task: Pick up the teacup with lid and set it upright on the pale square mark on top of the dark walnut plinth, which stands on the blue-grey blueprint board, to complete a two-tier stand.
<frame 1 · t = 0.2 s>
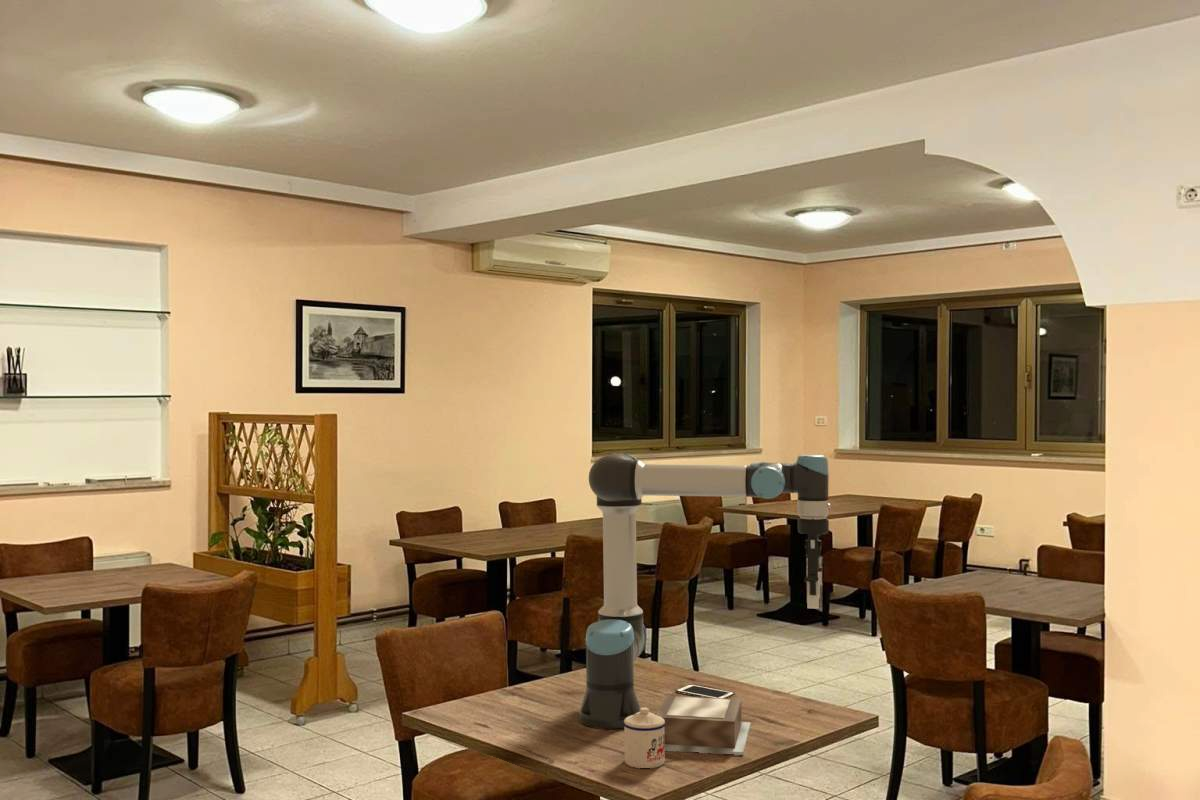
hand: (813, 603, 260), 28 cm above the table, tool pointing down, fingers open, 13 cm apart
plinth: (699, 737, 244), on the table
teacup with lid: (647, 761, 228), on the table
cell phone: (705, 695, 280), on the table
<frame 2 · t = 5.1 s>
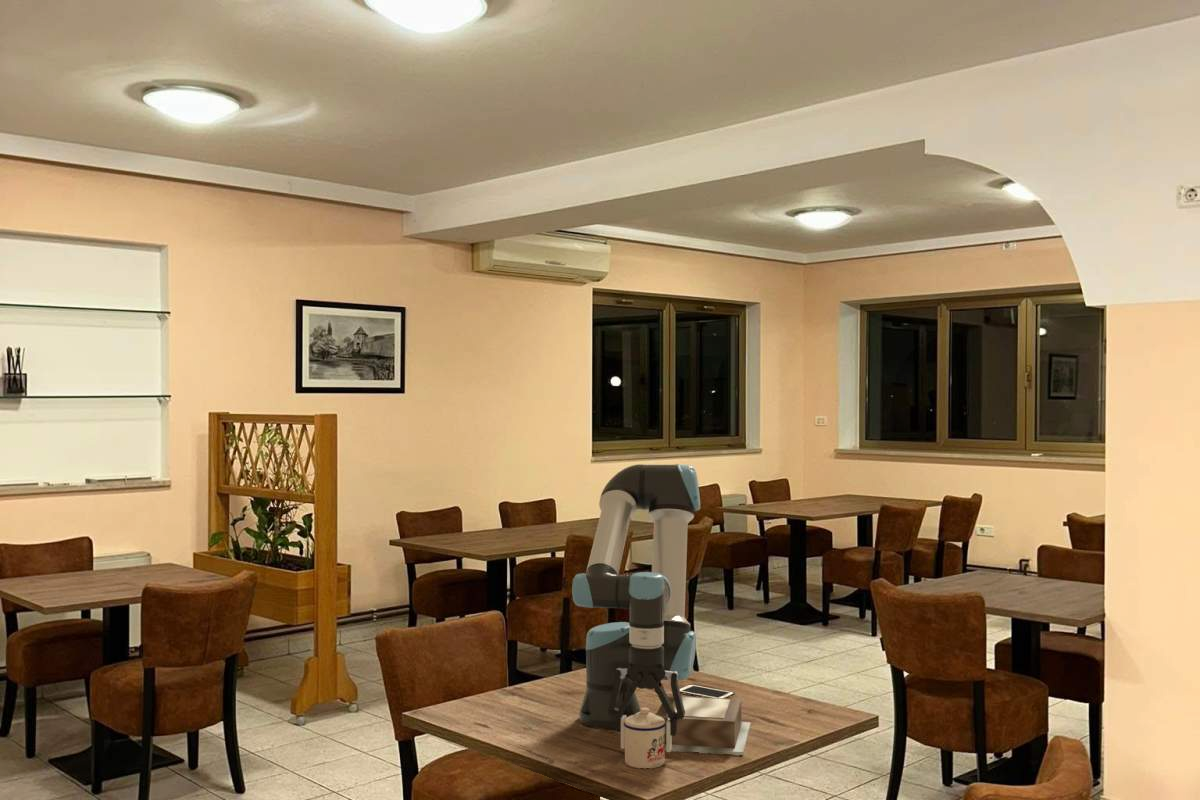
hand: (646, 748, 228), 3 cm above the table, tool pointing down, fingers open, 9 cm apart
teacup with lid: (648, 761, 228), on the table, touching gripper
everything else where it was.
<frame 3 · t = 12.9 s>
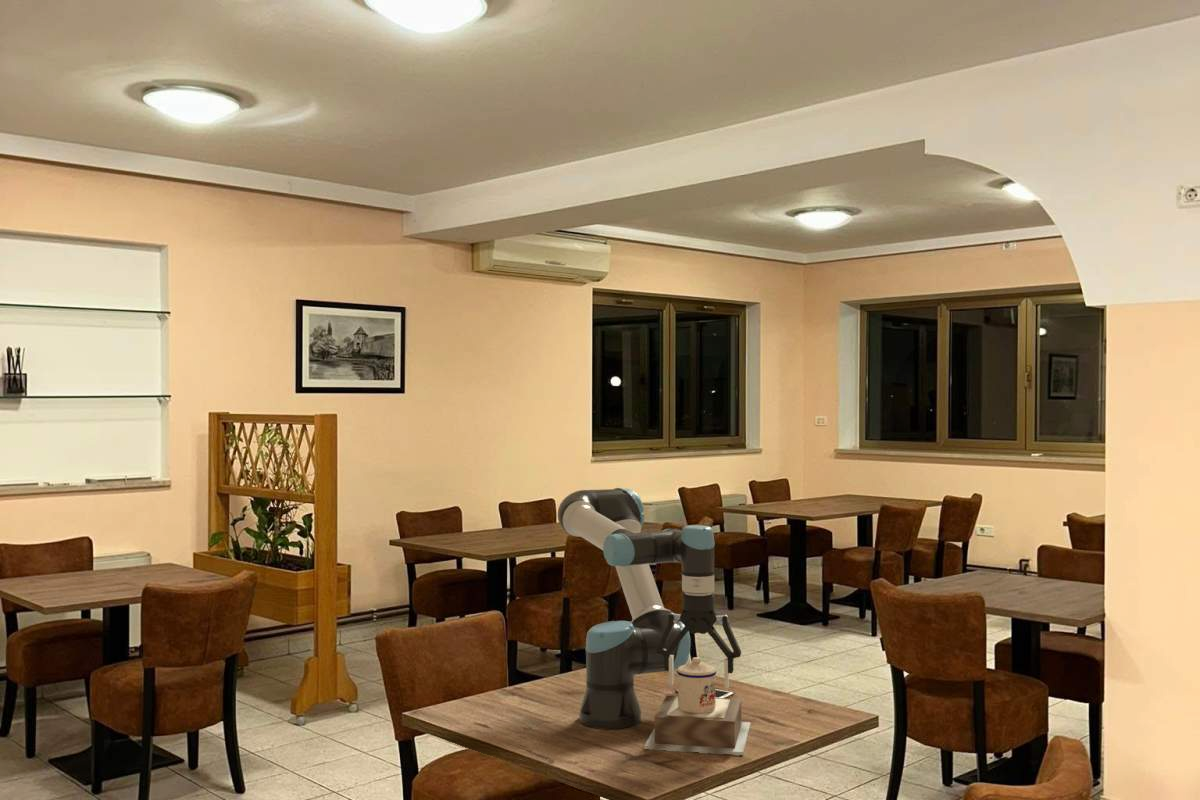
hand: (698, 685, 244), 12 cm above the table, tool pointing down, fingers open, 12 cm apart
teacup with lid: (699, 707, 244), point 7 cm above the table, touching plinth
everything else where it was.
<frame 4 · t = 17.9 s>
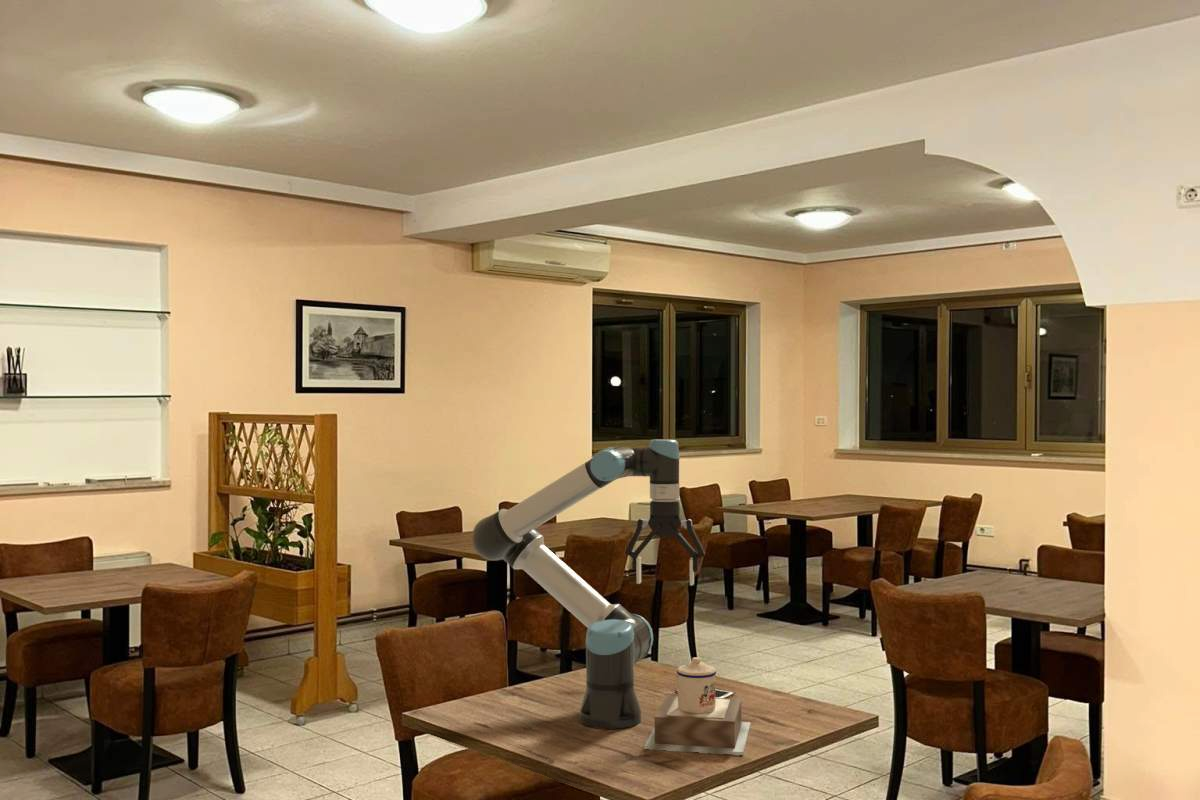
hand: (665, 583, 267), 32 cm above the table, tool pointing down, fingers open, 13 cm apart
nothing on the table moved.
at the end: teacup with lid inside the target area on the plinth (0.1 cm from its centre), point 6.8 cm above the plinth's base; teacup with lid tilted 0°; the gripper is holding nothing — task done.
